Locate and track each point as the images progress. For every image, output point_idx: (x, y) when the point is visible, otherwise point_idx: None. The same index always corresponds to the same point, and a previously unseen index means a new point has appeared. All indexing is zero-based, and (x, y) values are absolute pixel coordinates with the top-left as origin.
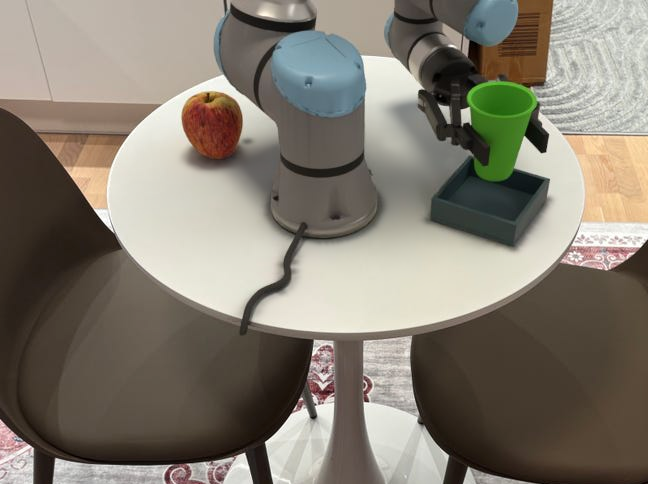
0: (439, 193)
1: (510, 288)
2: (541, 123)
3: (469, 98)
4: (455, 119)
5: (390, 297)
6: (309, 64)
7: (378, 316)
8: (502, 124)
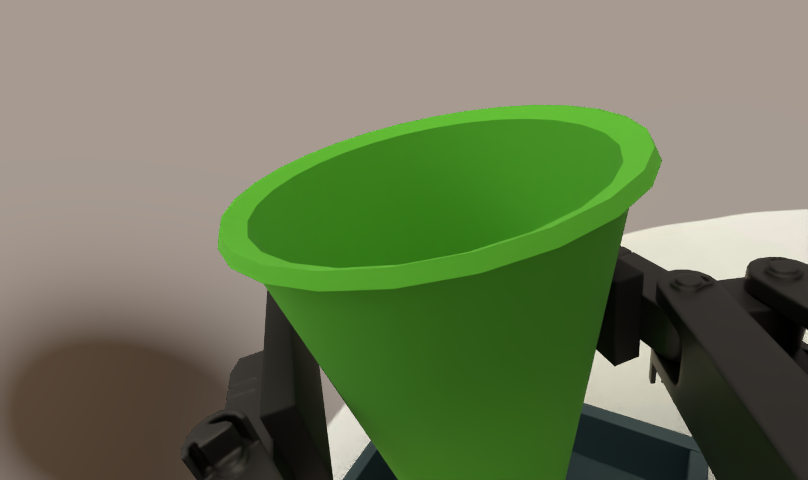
0: (692, 475)
1: None
2: (237, 366)
3: (624, 130)
4: (716, 304)
5: (664, 266)
6: None
7: (664, 240)
8: (442, 162)
